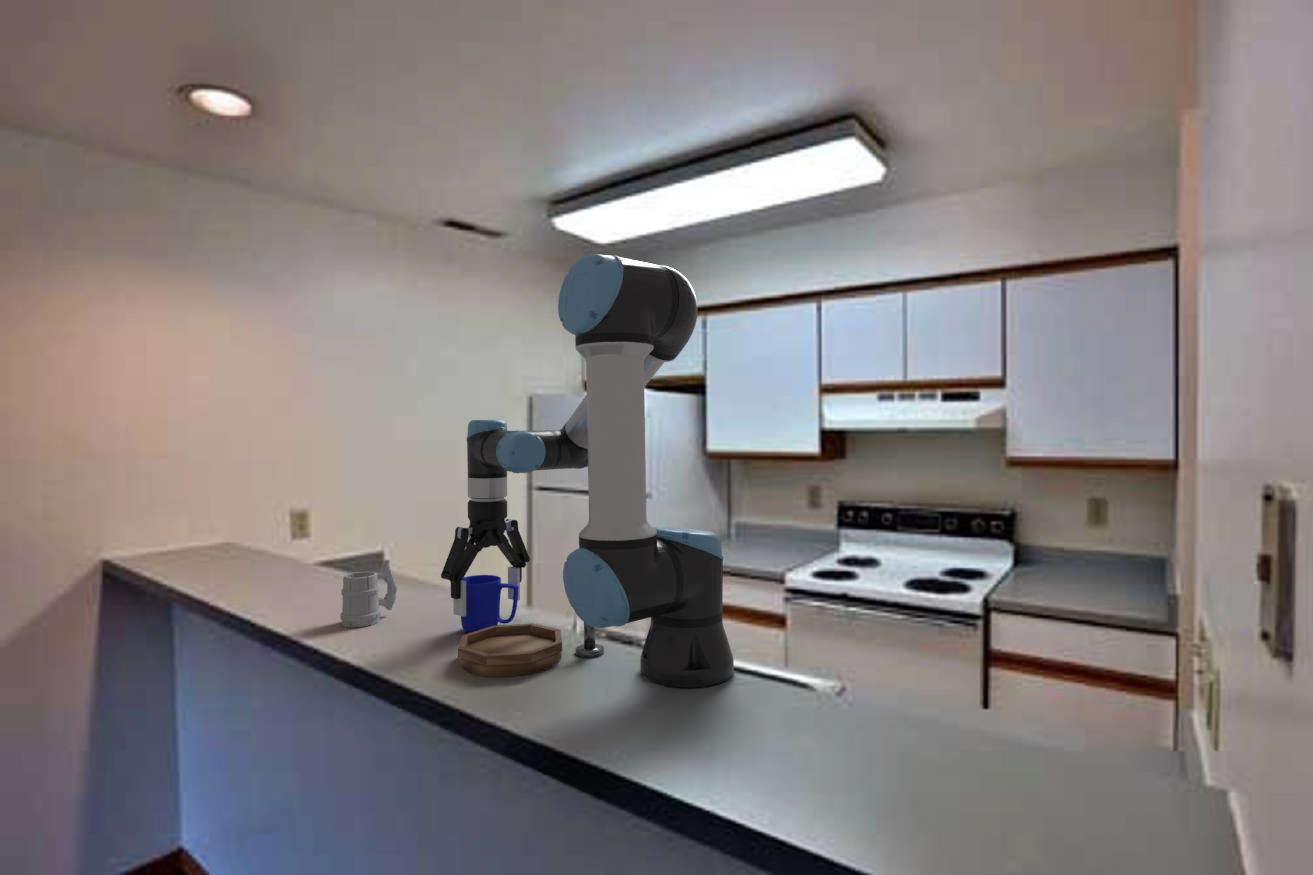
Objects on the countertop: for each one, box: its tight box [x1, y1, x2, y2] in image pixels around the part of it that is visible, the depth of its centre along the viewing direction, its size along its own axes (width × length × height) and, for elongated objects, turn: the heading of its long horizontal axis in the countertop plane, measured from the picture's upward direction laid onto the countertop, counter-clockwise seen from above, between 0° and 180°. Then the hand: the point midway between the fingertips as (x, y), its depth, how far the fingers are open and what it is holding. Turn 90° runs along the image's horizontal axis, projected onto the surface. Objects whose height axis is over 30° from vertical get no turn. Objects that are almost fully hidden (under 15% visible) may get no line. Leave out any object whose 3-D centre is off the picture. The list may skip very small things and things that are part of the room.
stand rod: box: [574, 622, 605, 658], centre depth 121 cm, size 5×5×8 cm
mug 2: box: [460, 574, 519, 634], centre depth 135 cm, size 8×12×10 cm
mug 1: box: [339, 559, 398, 629], centre depth 142 cm, size 8×12×12 cm, turn 143°
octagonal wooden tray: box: [457, 623, 563, 678], centre depth 118 cm, size 17×17×4 cm
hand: (488, 606), depth 135 cm, fingers open, 13 cm apart
